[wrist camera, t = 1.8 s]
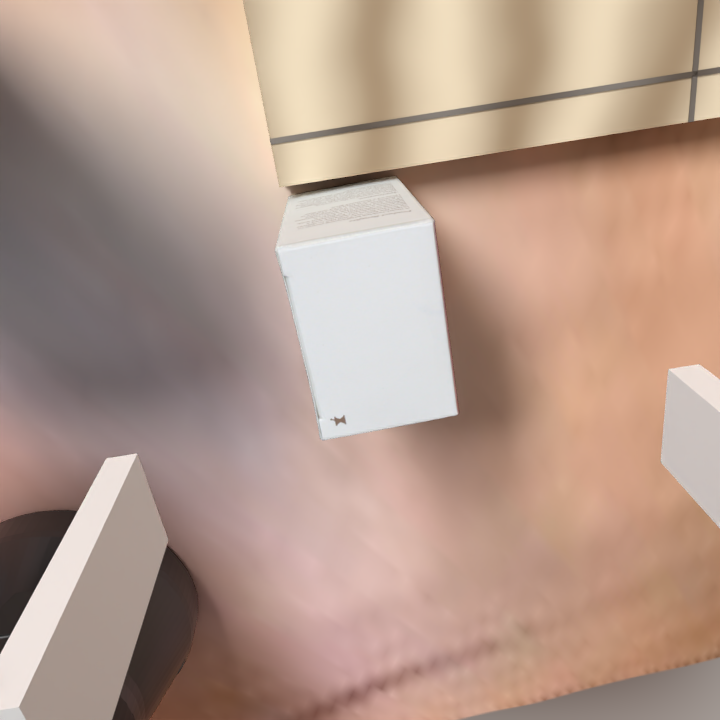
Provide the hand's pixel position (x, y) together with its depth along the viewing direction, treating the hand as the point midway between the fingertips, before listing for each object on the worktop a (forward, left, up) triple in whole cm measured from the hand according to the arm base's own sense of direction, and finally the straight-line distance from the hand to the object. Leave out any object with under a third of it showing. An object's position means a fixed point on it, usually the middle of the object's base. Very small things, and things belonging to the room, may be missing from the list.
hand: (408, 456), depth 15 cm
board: (+8, +10, -18) cm, 22 cm away
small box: (0, 0, -18) cm, 18 cm away
